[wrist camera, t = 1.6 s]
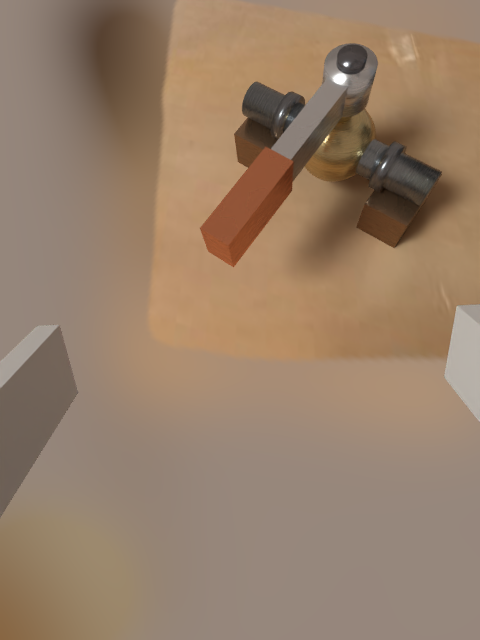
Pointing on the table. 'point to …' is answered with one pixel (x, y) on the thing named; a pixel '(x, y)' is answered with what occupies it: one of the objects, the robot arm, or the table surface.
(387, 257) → the table surface
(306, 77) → the table surface
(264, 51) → the table surface
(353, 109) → the valve lever
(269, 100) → the valve stand
